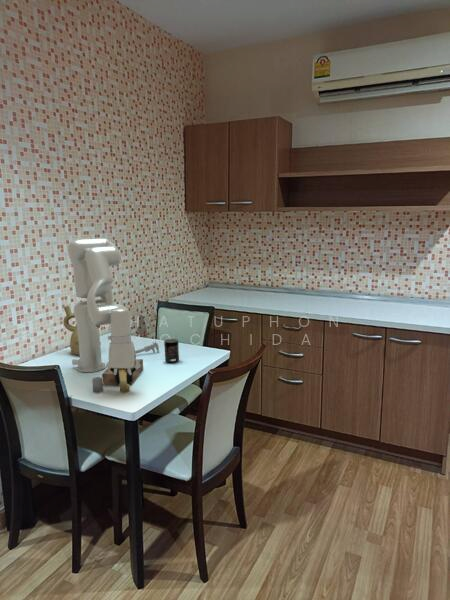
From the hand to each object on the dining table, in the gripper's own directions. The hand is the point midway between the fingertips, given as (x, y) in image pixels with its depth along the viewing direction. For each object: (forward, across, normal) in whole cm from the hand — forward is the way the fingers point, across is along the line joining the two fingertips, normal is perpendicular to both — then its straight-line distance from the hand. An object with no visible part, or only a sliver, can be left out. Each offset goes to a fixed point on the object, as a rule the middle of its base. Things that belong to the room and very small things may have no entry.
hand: (124, 383), depth 186 cm
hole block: (+3, -5, +16) cm, 17 cm away
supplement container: (+3, +12, +38) cm, 40 cm away
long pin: (+3, 0, 0) cm, 3 cm away
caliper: (+4, -7, +49) cm, 50 cm away
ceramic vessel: (+4, -37, +54) cm, 66 cm away
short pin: (+3, -11, 0) cm, 12 cm away
